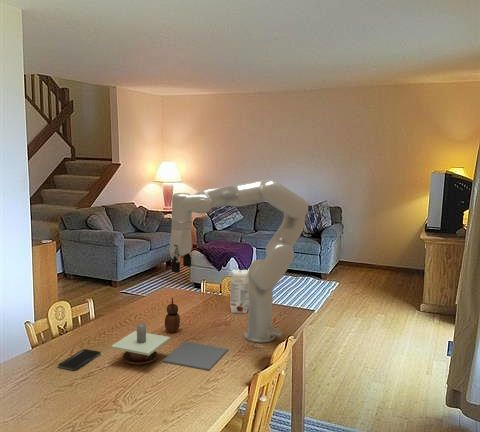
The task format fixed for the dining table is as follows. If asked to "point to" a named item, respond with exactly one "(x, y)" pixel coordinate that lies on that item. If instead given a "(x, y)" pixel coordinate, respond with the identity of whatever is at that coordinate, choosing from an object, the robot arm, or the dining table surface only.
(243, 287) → the juice carton
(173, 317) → the wooden figurine
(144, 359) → the cup and saucer
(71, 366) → the phone
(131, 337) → the cover board
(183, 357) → the rubber mat
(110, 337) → the dining table surface
